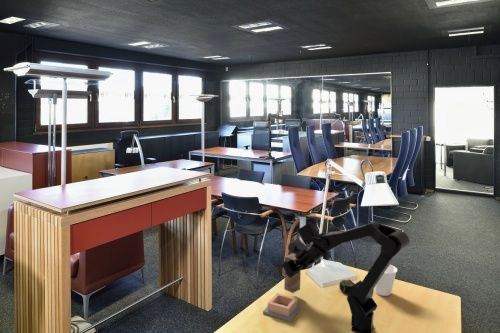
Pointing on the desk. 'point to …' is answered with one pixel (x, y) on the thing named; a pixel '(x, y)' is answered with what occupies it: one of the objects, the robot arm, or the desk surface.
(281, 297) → the socket stand
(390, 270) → the cup
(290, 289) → the walnut pillar
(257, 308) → the desk surface
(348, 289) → the tape measure
